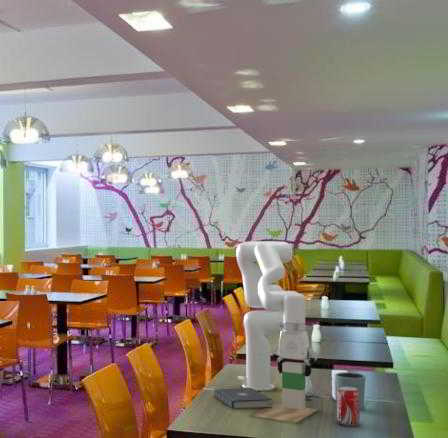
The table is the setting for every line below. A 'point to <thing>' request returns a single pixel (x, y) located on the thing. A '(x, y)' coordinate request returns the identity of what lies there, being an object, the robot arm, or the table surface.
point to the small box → (335, 382)
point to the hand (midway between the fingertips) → (294, 374)
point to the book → (242, 398)
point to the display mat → (284, 413)
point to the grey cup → (353, 384)
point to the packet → (293, 385)
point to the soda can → (348, 406)
